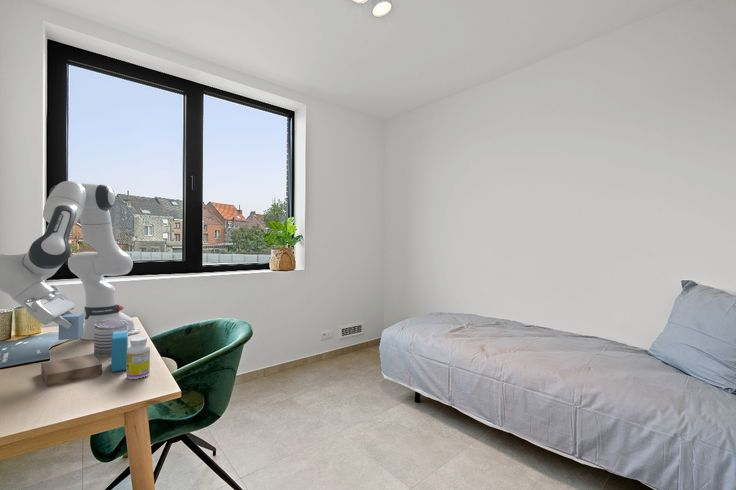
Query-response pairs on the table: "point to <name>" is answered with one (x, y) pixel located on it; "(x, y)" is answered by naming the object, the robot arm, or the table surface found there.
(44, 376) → the walnut base block
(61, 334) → the slate blue block
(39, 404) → the table surface
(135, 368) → the supplement bottle
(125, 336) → the data package
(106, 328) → the can
